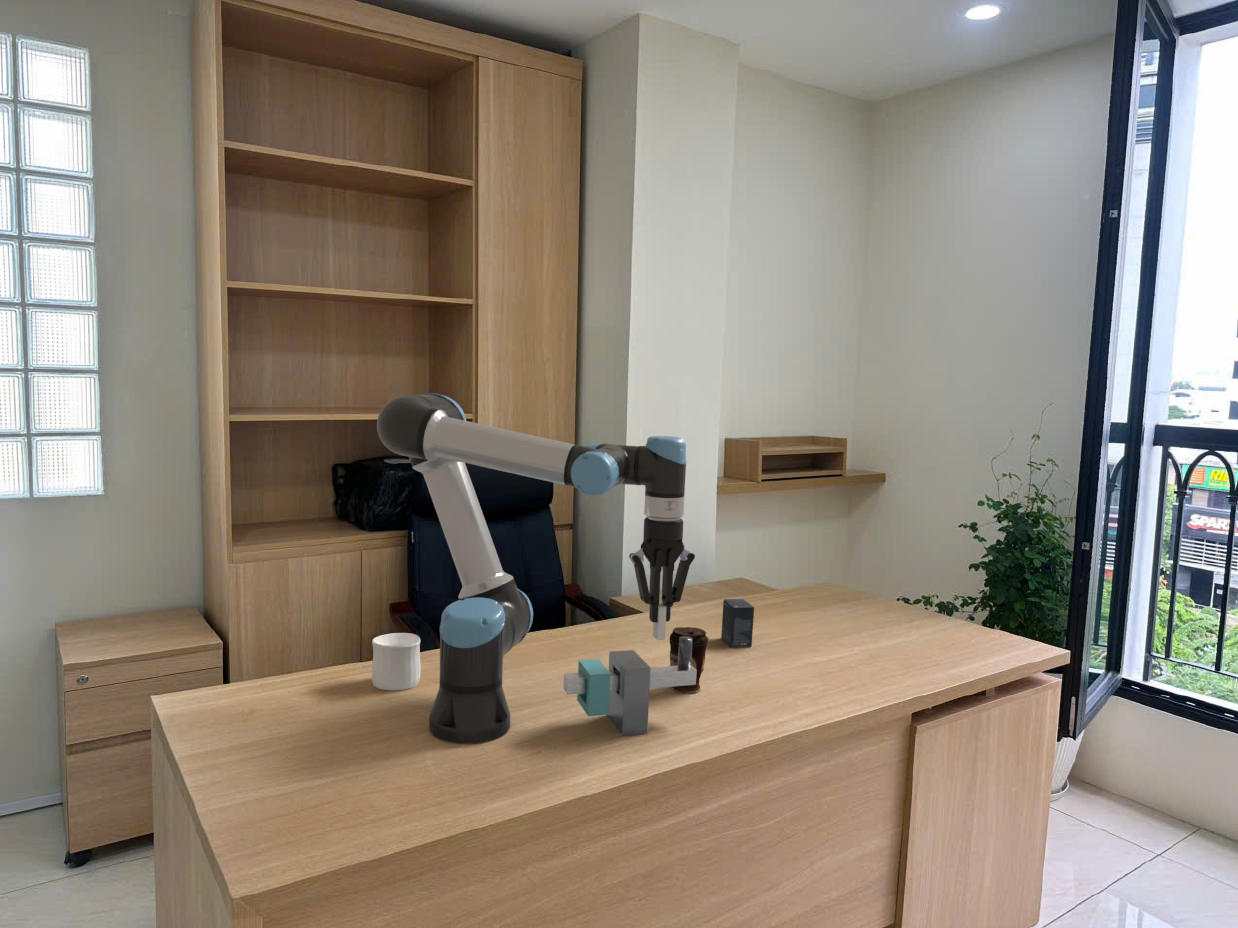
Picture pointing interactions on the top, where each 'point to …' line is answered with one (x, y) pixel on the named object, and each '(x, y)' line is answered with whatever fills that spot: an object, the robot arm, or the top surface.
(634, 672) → the bearing block
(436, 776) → the top surface
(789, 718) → the top surface
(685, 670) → the shaft
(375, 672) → the cup
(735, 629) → the box
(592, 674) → the spacer
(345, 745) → the top surface
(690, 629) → the coffee cup
